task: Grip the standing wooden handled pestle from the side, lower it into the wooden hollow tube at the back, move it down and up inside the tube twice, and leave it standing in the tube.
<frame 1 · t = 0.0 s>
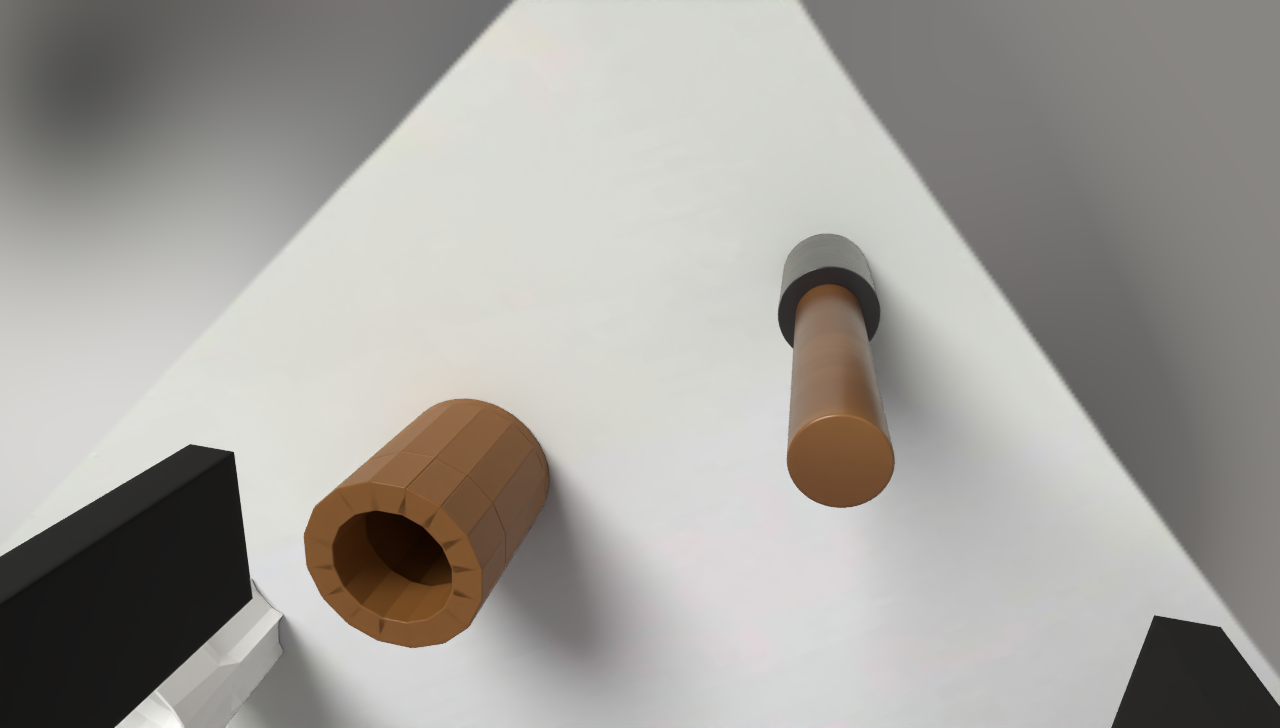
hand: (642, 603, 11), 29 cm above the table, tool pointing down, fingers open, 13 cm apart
wooden handled pestle: (825, 274, 38), on the table
cup 2: (233, 616, 54), on the table
wooden hollow tube: (475, 469, 46), on the table
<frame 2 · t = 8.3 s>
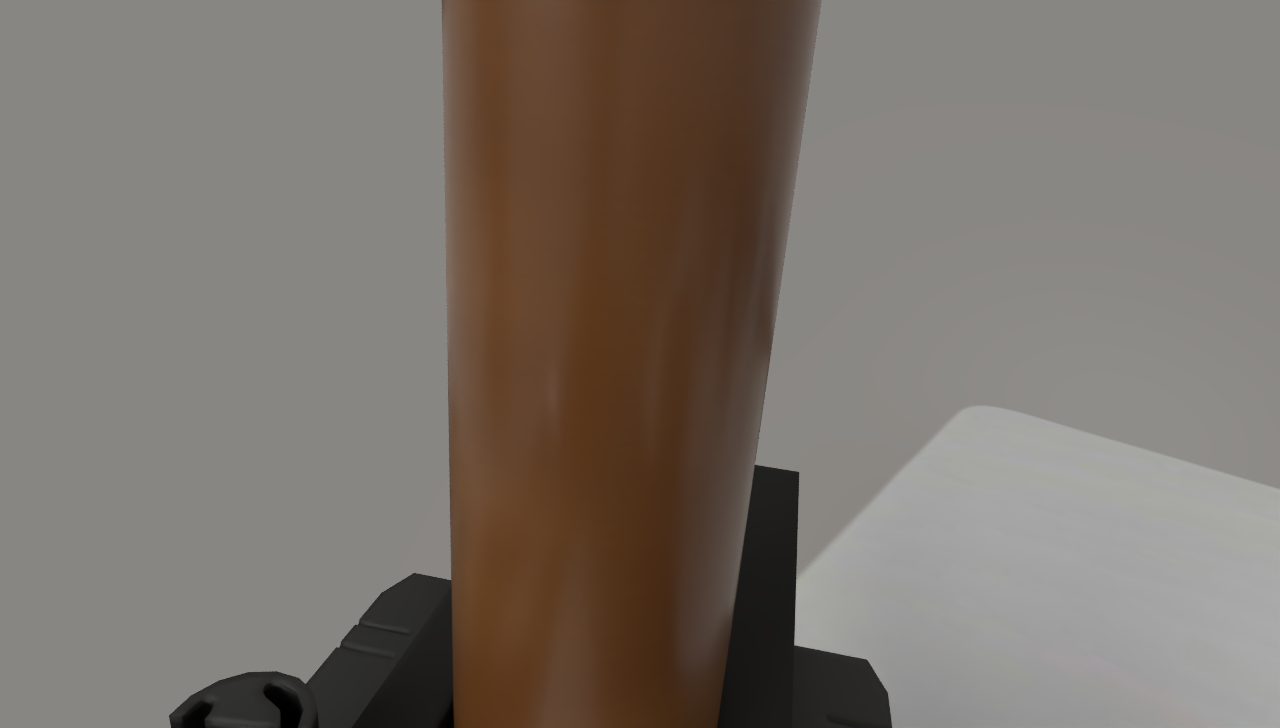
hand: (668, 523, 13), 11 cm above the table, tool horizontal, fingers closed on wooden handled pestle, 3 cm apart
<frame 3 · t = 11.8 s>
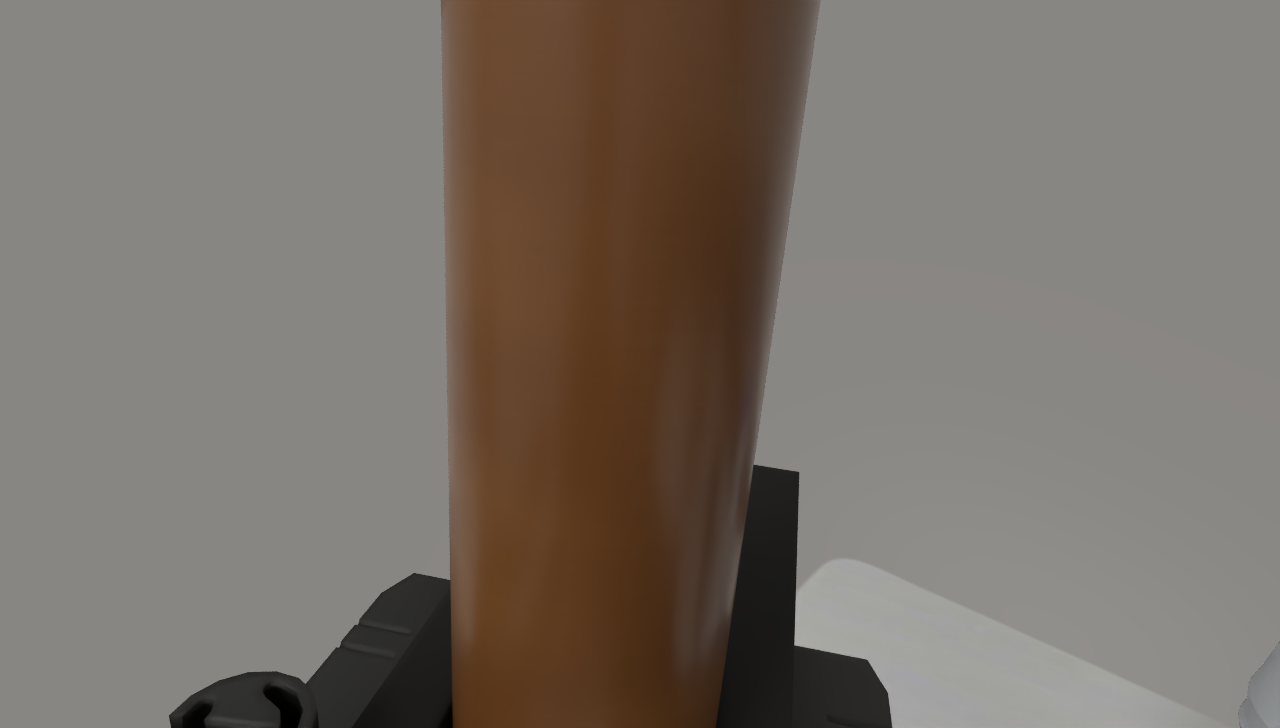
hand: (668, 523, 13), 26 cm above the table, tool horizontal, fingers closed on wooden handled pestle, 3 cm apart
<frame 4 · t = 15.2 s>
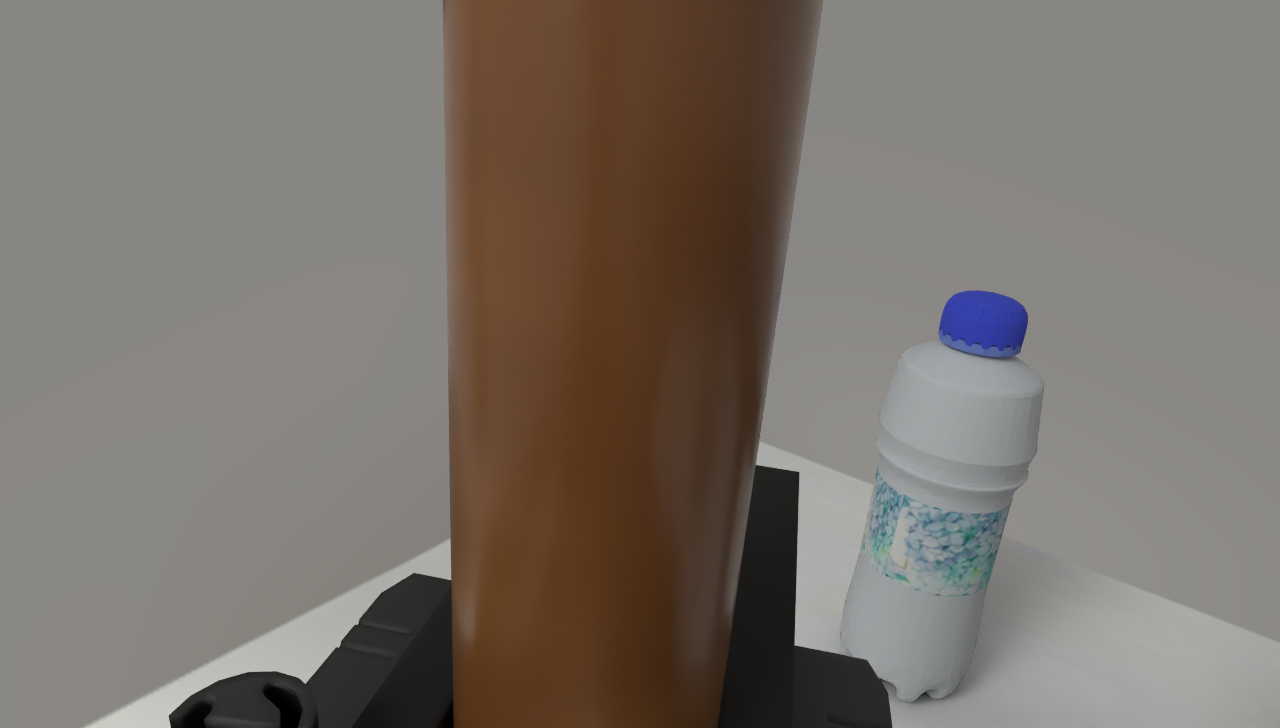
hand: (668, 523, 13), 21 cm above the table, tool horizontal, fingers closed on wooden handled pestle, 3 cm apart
bottle: (896, 671, 40), on the table
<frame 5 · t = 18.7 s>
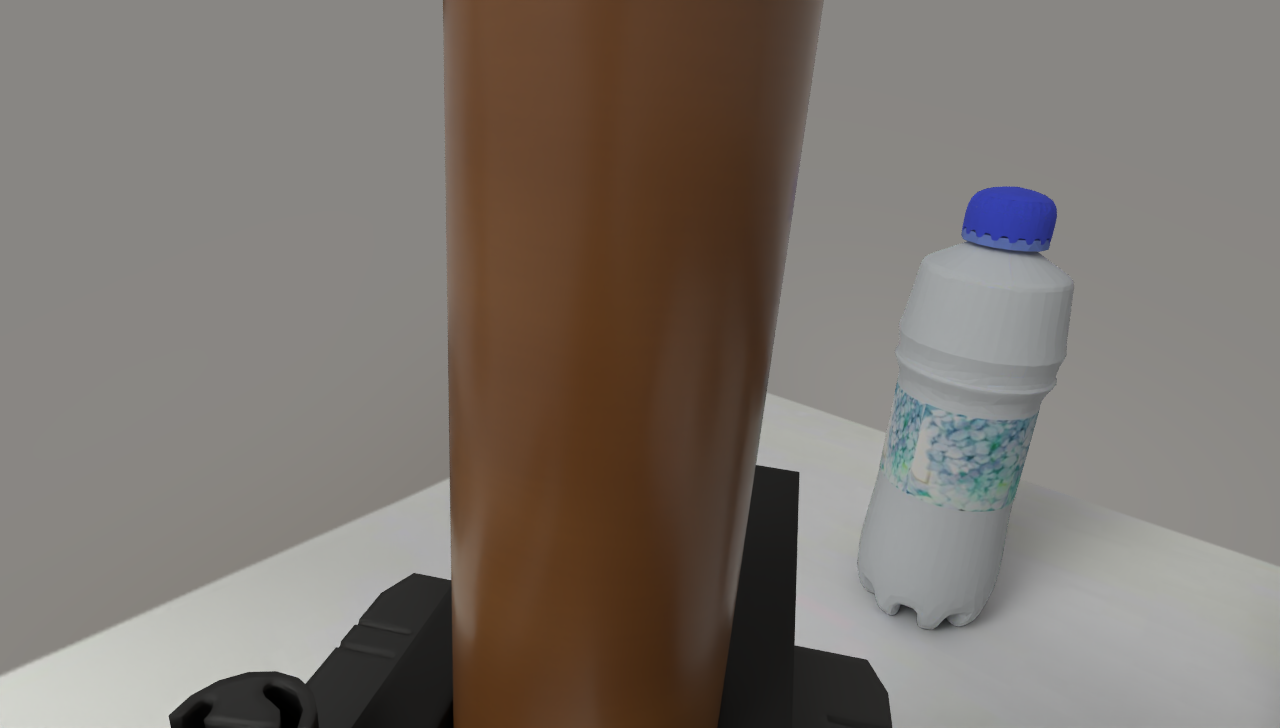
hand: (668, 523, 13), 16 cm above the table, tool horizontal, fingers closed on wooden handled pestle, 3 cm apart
bottle: (915, 601, 38), on the table
when the fingers open (12 cm above the table, at t = 22.2 s): wooden handled pestle stays where it is, resting on wooden hollow tube.
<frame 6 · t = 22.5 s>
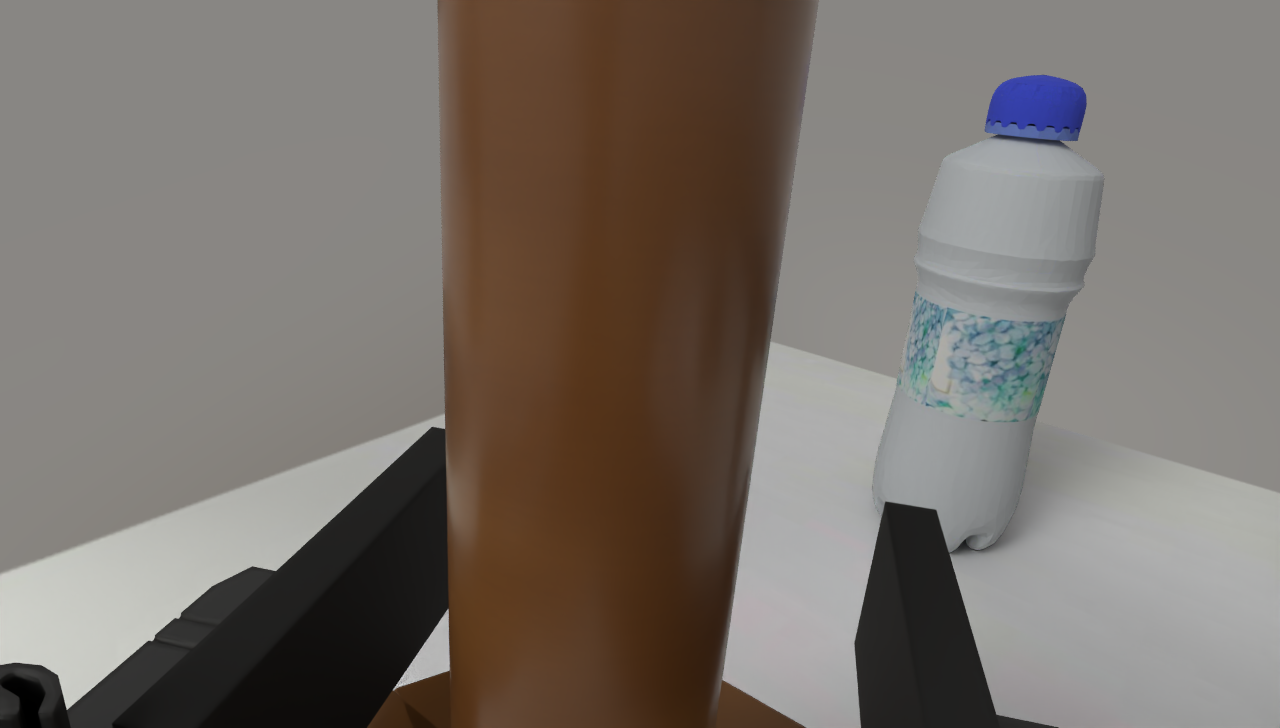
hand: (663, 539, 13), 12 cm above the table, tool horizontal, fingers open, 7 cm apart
bottle: (933, 528, 37), on the table
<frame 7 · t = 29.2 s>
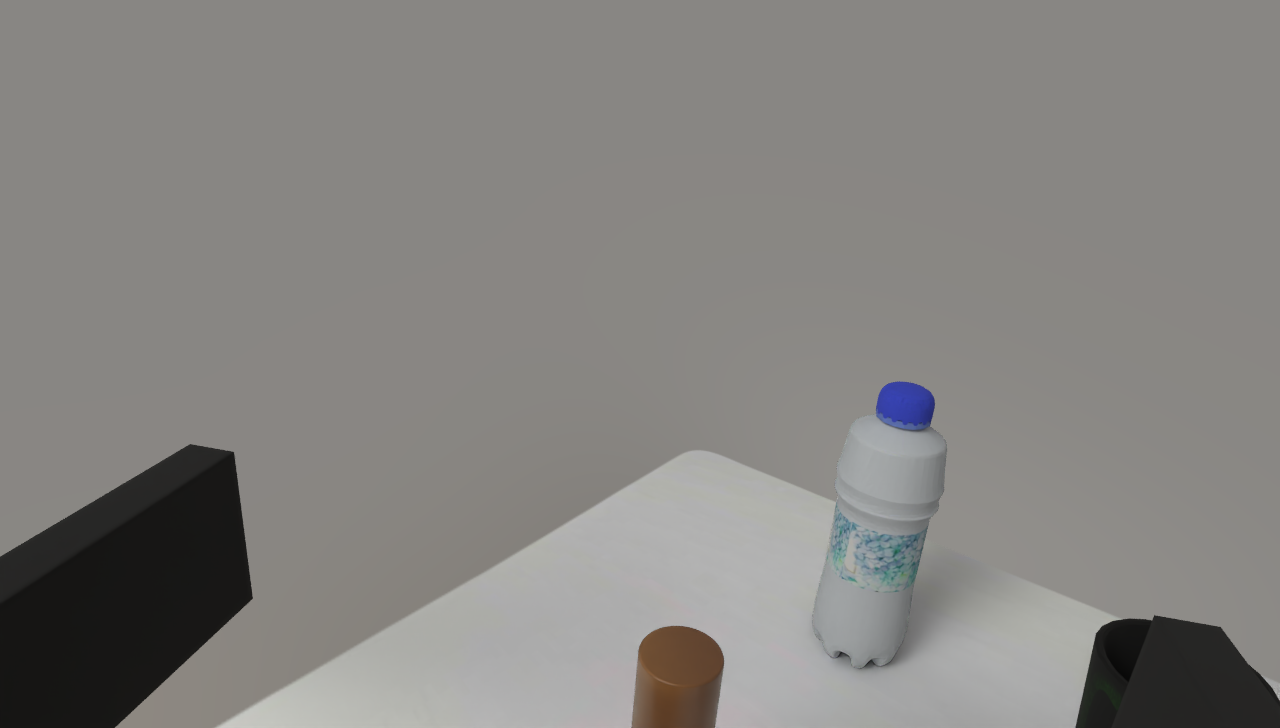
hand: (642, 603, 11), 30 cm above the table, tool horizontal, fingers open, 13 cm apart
bottle: (853, 647, 55), on the table
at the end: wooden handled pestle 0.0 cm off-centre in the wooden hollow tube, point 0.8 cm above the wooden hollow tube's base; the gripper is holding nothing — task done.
